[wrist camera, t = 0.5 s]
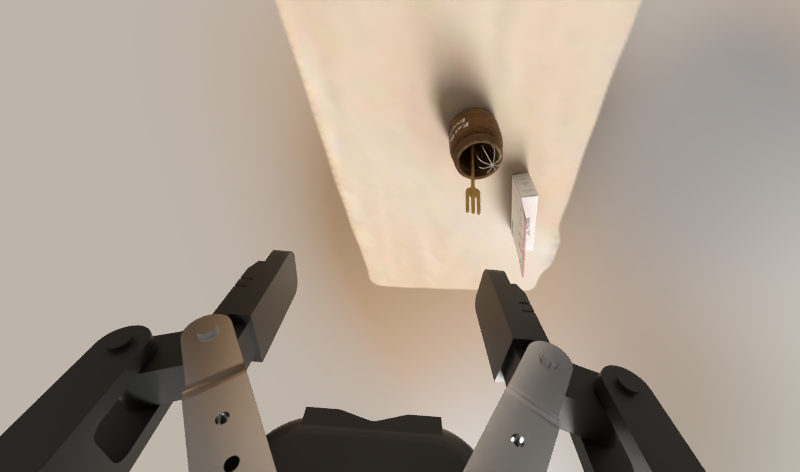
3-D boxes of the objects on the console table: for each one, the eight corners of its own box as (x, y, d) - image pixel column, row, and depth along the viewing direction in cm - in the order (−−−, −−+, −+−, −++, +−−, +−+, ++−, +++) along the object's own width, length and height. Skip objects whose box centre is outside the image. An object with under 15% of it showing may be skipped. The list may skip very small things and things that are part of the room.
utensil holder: (505, 110, 34) (528, 167, 26) (486, 157, 39) (500, 218, 31) (456, 101, 34) (463, 156, 26) (442, 149, 39) (445, 209, 30)
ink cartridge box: (529, 171, 40) (548, 220, 33) (525, 227, 48) (540, 276, 41) (510, 174, 41) (525, 222, 34) (509, 229, 48) (521, 278, 42)
